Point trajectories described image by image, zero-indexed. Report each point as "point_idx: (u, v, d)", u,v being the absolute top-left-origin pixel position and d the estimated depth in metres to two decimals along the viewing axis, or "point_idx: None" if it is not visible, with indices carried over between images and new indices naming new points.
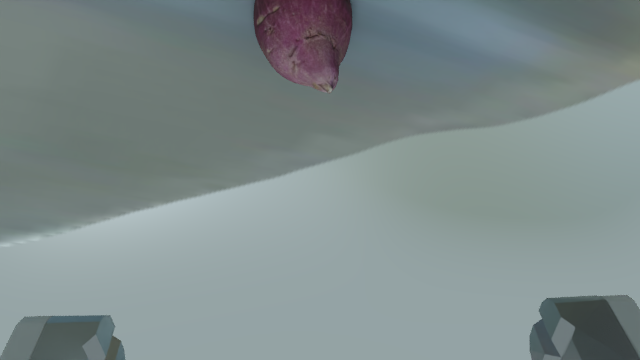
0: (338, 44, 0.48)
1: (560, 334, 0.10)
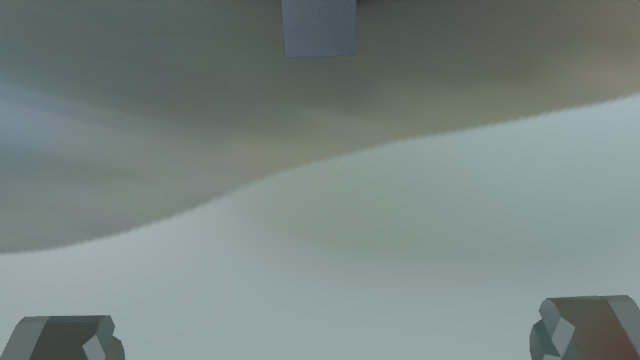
0: None
1: (560, 334, 0.10)
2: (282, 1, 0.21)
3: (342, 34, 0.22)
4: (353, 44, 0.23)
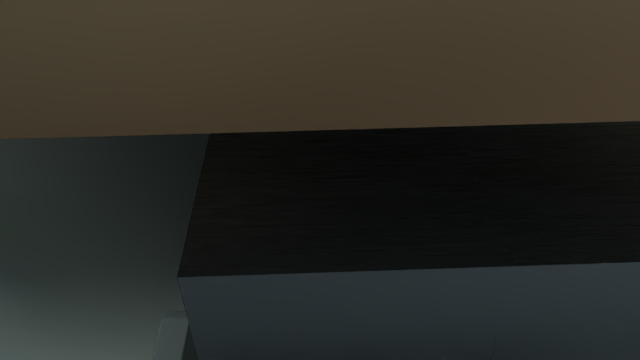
0: None
1: None
2: None
3: None
4: None
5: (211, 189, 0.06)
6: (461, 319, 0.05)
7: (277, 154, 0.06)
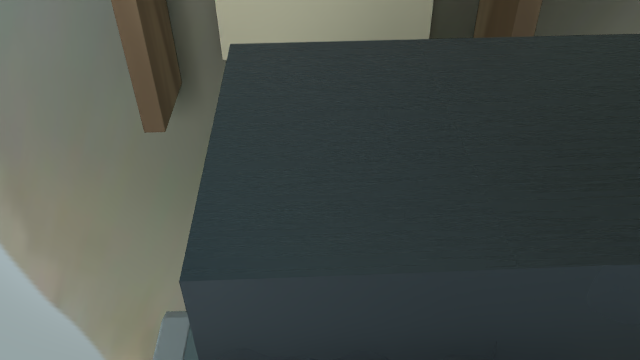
0: None
1: None
2: None
3: None
4: None
5: (212, 193, 0.06)
6: (463, 322, 0.05)
7: (278, 158, 0.06)
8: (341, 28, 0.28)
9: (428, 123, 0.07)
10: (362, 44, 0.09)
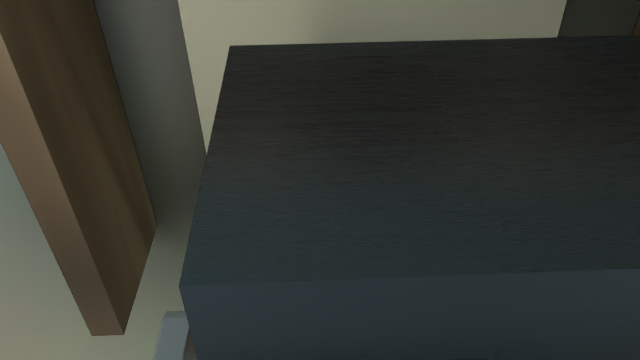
0: None
1: None
2: None
3: None
4: None
5: (212, 196, 0.06)
6: (464, 326, 0.05)
7: (278, 160, 0.06)
8: None
9: (429, 125, 0.07)
10: (362, 46, 0.09)
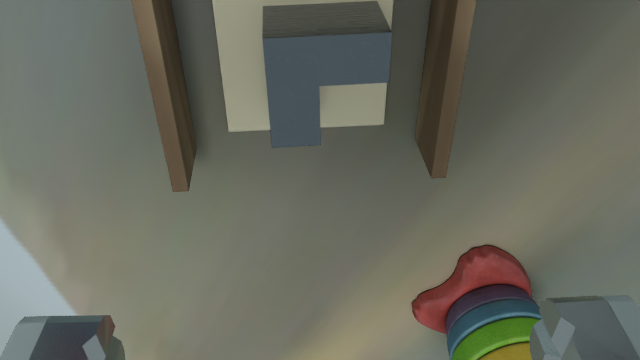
0: None
1: (560, 334, 0.10)
2: (269, 113, 0.32)
3: (311, 132, 0.33)
4: (319, 137, 0.33)
5: (265, 30, 0.30)
6: (311, 49, 0.29)
7: (277, 25, 0.30)
8: None
9: (309, 19, 0.31)
10: (297, 5, 0.33)
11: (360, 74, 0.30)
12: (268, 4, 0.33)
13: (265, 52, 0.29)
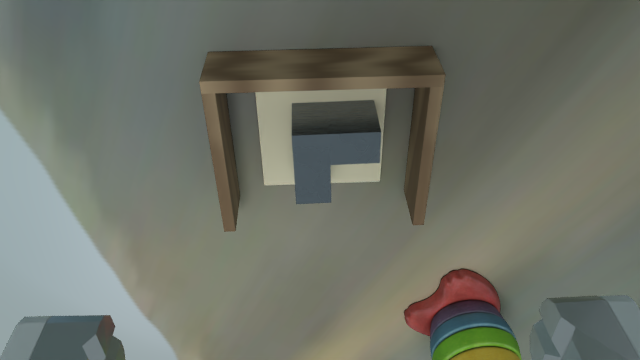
0: None
1: (560, 334, 0.10)
2: (295, 181, 0.45)
3: (324, 194, 0.46)
4: (330, 197, 0.46)
5: (293, 127, 0.43)
6: (325, 142, 0.42)
7: (301, 122, 0.43)
8: None
9: (324, 117, 0.44)
10: (316, 103, 0.46)
11: (359, 157, 0.43)
12: (295, 102, 0.46)
13: (293, 144, 0.42)
